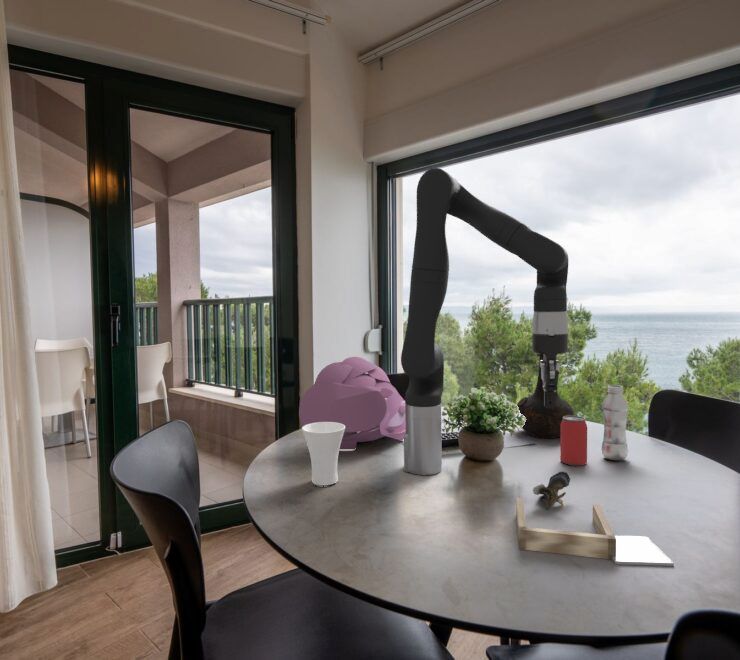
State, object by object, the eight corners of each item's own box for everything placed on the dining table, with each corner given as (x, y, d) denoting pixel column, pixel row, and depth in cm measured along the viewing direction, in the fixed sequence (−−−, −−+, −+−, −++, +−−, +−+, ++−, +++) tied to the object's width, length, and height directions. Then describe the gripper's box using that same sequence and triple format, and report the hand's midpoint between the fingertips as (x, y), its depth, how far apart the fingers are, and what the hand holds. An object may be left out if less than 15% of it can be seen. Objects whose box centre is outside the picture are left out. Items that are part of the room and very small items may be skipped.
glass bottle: (511, 427, 167) (512, 345, 166) (566, 428, 165) (567, 345, 163) (520, 441, 149) (520, 351, 148) (581, 443, 147) (582, 350, 145)
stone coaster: (615, 564, 79) (615, 561, 79) (595, 537, 88) (595, 535, 88) (673, 566, 79) (673, 563, 79) (646, 539, 88) (647, 536, 88)
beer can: (589, 467, 126) (590, 421, 125) (562, 465, 127) (563, 420, 126) (583, 459, 132) (584, 415, 132) (558, 458, 134) (558, 414, 133)
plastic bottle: (602, 461, 130) (603, 387, 129) (600, 454, 136) (601, 383, 135) (629, 464, 127) (630, 388, 126) (626, 456, 134) (627, 384, 132)
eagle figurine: (577, 509, 98) (578, 486, 106) (556, 480, 98) (559, 459, 106) (544, 522, 101) (547, 499, 109) (524, 494, 102) (529, 472, 110)
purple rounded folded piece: (370, 441, 170) (361, 360, 174) (429, 437, 157) (418, 350, 161) (300, 457, 142) (291, 361, 146) (365, 455, 128) (353, 349, 132)
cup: (355, 481, 118) (354, 426, 118) (322, 494, 111) (321, 435, 110) (326, 471, 126) (325, 419, 125) (294, 482, 118) (292, 427, 117)
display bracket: (519, 549, 85) (519, 529, 85) (516, 514, 99) (516, 497, 98) (616, 559, 81) (616, 539, 81) (599, 522, 95) (599, 504, 94)
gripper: (530, 330, 117) (530, 401, 118) (534, 333, 105) (534, 413, 106) (563, 330, 115) (563, 402, 116) (571, 333, 103) (571, 414, 104)
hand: (549, 407), depth 111 cm, fingers closed
